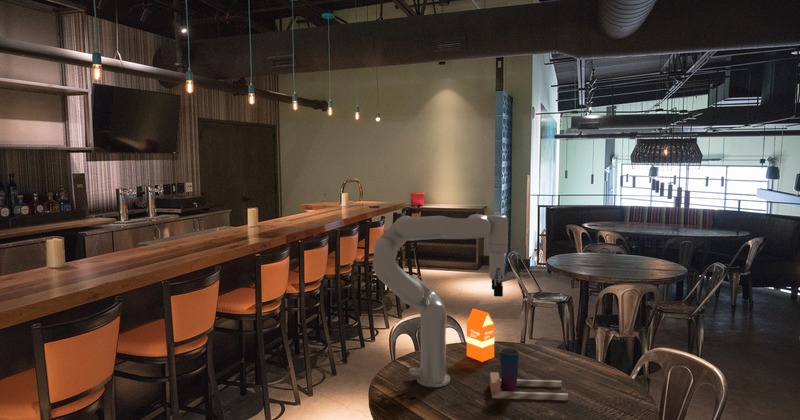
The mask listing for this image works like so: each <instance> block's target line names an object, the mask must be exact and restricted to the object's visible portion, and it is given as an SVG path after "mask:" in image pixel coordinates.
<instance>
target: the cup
mask: <svg viewBox="0 0 800 420" xmlns="http://www.w3.org/2000/svg"><path fill="white" fill-rule="evenodd" d="M499 359H500V360H499V361H500V376H501V378H500V379H501V381H502V386H501V391H509V392H517V389H518V388H517V387H518V386H517V379H518V372H519V360H520V350H519V349H517V348H515V347H503V348H500V349H499Z"/></svg>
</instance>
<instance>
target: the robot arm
mask: <svg viewBox="0 0 800 420" xmlns="http://www.w3.org/2000/svg"><path fill="white" fill-rule="evenodd" d="M485 237H487V239H486V241H487V242H486V246H487V247H486V249H487V250H486V252H487V253H489V261H488V269H489V270H488V276H489V279H490V280H491V290H493V296H494V297H499V298H500V297H503V296H504V286H503V280H504V279H505V254H507V253H508V249H509V248H508V247H509V246H508V245H509V240H508V238H509V219H508V217H507V215H505V214H491V215H488V214H480V213H479V214H478V213H474V214H471V215H469V216H468V217H467V218H464V217H463V218H459V217H458V218H456V217H448V216H444V215H429V216H413V217H412V216H409V215H402V216H400V217H398V218H397V219H396V220H395V221H394V223H392V224H391V225H390V226H389V228H387V229H386V230H385V231H384V232H383V234H381V235H380V236H379V238H378V239H377V240H376V241H375V243H374V245H373V246H374V247H373V256H372V269H373V272H374V275H376V277H377V278H378V280H380V282H381V283H383V284H384V285H385V286H386V287H387V288H388V289H389V290H390V291H391V292H392V293H394V295H396V296H397V297H398V298H399V299H400V300H401V301H402V302H403V303H405V304H406V305H408V306H412V307H414V308H415V309H416V310H417V311H418V312H419V314H420V315H419V316H420V332H419V333H420V338H419V339H420V367H418V368H409V371H408V373H409V375H411V376H412V377H416V381H417V382H416V383H418V384H420V385H421V386H423V387H426V388H441V387H444V386H447V385H449V383H450V382H451V376H450V375H449V374H447V340H446V339H447V335H446V334H447V333H446V332H447V318H448V317H447V316H448V313H447V309H446V306H445V303H443V301H442V299H441V297H440V296H439V295H438V294H437V293H436V292H435V291H433V290H432V289H431V288H430V287H429V286H428V285H427V284H426V283H424V282H423V281H422V280H421V279H420V278H419V277H417V276H415V275H410V274H408V273H407V272H406V271H404V269H403V268H401V267H400V266H399V265H398V264H397V262H396V260H397V259H396V258H397V256H398V250H399V249H400V248H401V247H402V246H403V245H404V244H405V243H406V242H407V241H423V240H438V239H439V240H469V239H470V240H471V239H472V240H473V239H481V238H485Z"/></svg>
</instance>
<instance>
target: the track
mask: <svg viewBox="0 0 800 420" xmlns="http://www.w3.org/2000/svg"><path fill="white" fill-rule="evenodd" d="M489 372H490V373H489V388H490V393H491V399H512V400H513V399H514V400H515V399H516V400H543V401H544V400H547V401H569V394H568V393H567V392H537V391H536V392H533V391H516V392H509V391H502V381H501V378H500V375H499V372H498V371H497V372H495V371H494V372H493V371H492V372H491V371H489ZM517 387H535V388H536V387H538V388H541V387H542V388H562V387H563V381H562V380H552V379H549V380H548V379H545V380H544V379H519V378H517Z"/></svg>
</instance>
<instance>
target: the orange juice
mask: <svg viewBox="0 0 800 420" xmlns="http://www.w3.org/2000/svg"><path fill="white" fill-rule="evenodd" d="M466 356H467V357H469V358H471V359H473V360H474V359H475V360H477V361H479V362H481V363H483V362H486V361H488V360H490V359H493V358H495V323H494V321H493V320H492V318H491V316H490V314H489V312H486V311H483V310H479V309H476V308H472V310H471V312H470V314H469V316H468V319H467V321H466Z"/></svg>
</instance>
